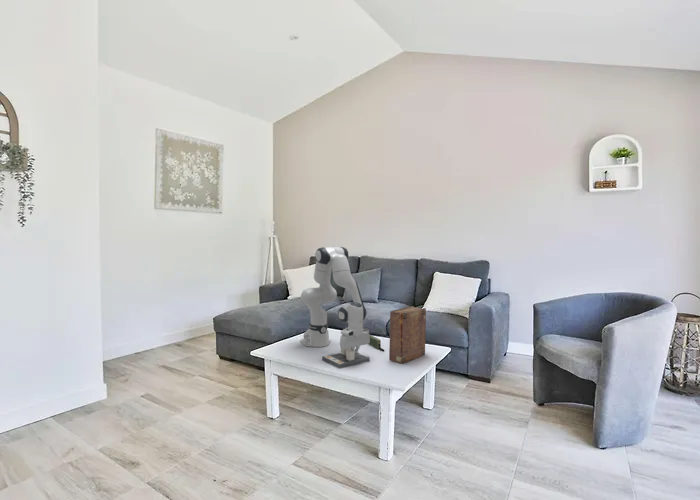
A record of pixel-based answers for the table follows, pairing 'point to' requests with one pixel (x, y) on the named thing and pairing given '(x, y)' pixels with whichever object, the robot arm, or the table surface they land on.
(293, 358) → the table surface
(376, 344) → the handheld radio
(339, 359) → the switch panel
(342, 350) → the tab inner
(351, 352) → the block
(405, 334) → the book
